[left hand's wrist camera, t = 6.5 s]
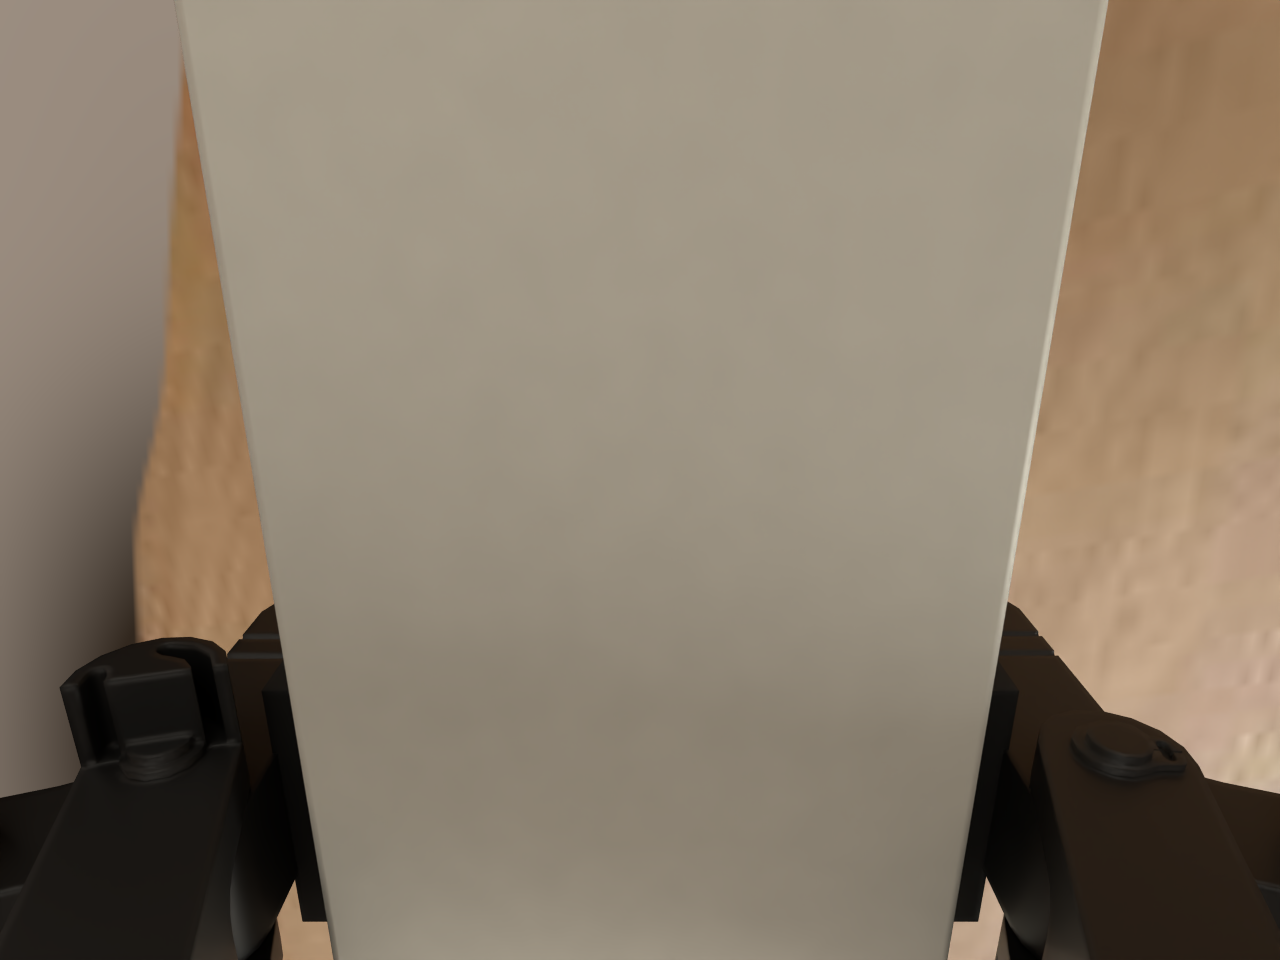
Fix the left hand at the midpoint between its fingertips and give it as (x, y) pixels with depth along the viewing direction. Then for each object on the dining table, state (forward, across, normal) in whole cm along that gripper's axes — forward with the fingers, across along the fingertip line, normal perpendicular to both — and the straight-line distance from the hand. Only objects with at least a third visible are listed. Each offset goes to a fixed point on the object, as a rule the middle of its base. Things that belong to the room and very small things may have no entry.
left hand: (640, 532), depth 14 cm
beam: (+1, 0, -28) cm, 28 cm away
